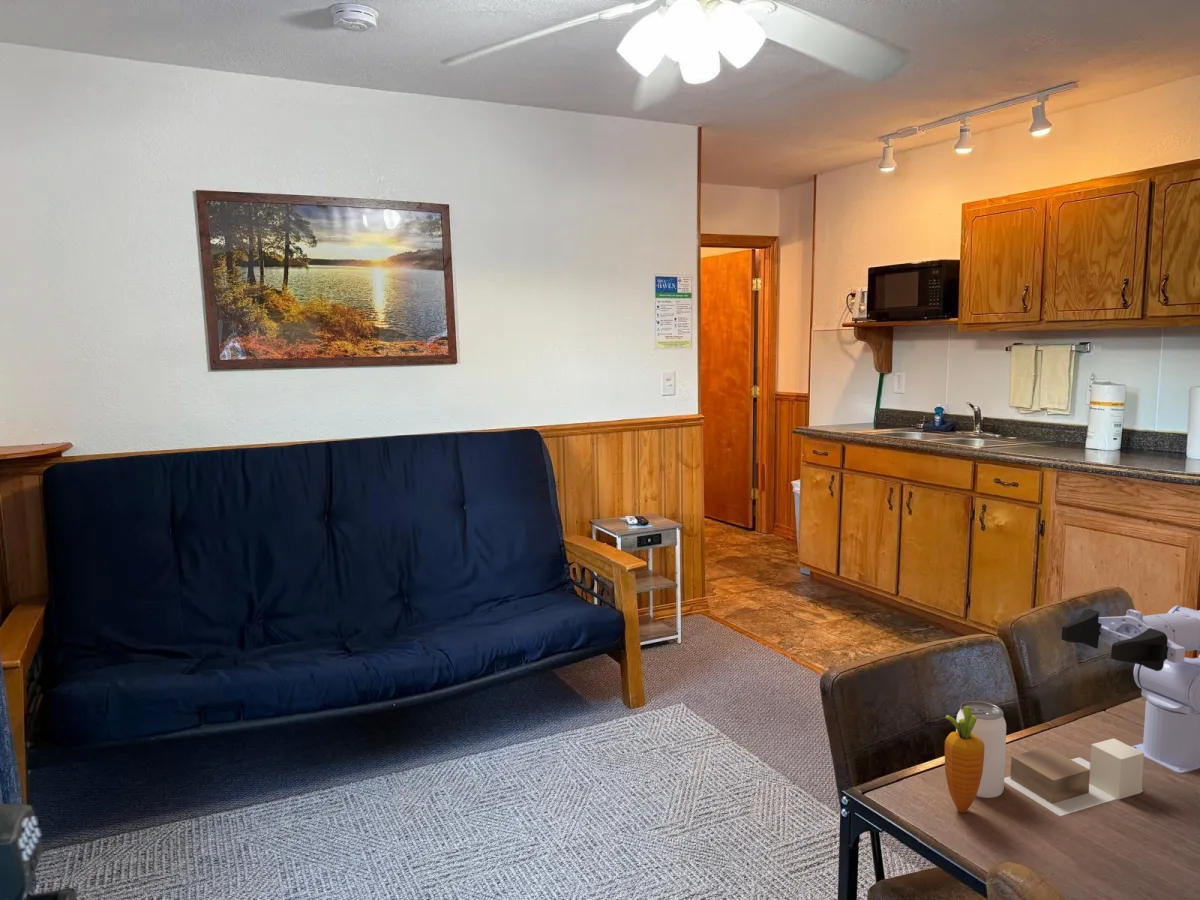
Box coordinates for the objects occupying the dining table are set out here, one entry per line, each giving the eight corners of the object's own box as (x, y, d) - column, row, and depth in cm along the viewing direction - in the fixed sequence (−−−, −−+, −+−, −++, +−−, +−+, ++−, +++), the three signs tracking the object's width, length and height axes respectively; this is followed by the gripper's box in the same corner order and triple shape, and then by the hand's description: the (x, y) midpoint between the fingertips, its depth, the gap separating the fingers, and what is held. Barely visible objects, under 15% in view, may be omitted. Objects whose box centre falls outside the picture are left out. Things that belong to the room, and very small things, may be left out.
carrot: (965, 828, 106) (969, 722, 104) (934, 809, 110) (937, 707, 108) (990, 817, 108) (994, 713, 106) (958, 799, 113) (962, 699, 111)
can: (1009, 802, 112) (1012, 721, 110) (960, 798, 113) (962, 718, 111) (996, 777, 118) (999, 701, 116) (949, 774, 119) (952, 698, 118)
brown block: (1045, 768, 119) (1047, 746, 119) (1088, 792, 113) (1090, 769, 112) (1010, 778, 117) (1011, 756, 116) (1051, 803, 110) (1053, 780, 110)
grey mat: (1079, 759, 122) (1079, 757, 122) (1143, 793, 113) (1143, 790, 113) (999, 781, 117) (999, 779, 117) (1059, 818, 108) (1059, 816, 107)
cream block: (1111, 776, 117) (1113, 738, 116) (1141, 792, 112) (1144, 752, 112) (1088, 783, 115) (1091, 744, 114) (1118, 799, 111) (1121, 759, 110)
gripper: (1111, 594, 124) (1046, 600, 119) (1209, 624, 110) (1141, 632, 105) (1106, 638, 124) (1041, 645, 120) (1203, 673, 111) (1135, 683, 106)
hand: (1088, 642), depth 113 cm, fingers open, 7 cm apart
